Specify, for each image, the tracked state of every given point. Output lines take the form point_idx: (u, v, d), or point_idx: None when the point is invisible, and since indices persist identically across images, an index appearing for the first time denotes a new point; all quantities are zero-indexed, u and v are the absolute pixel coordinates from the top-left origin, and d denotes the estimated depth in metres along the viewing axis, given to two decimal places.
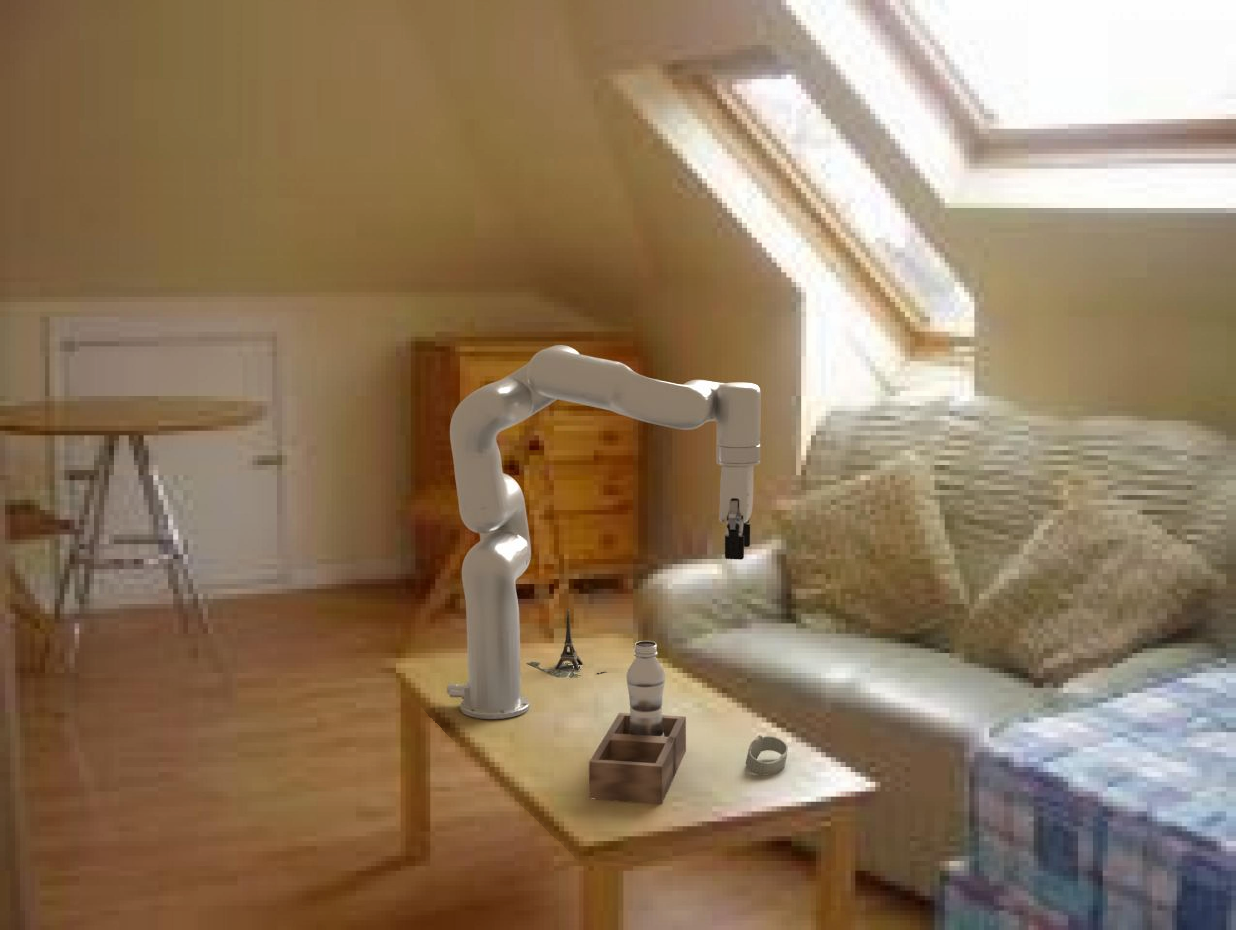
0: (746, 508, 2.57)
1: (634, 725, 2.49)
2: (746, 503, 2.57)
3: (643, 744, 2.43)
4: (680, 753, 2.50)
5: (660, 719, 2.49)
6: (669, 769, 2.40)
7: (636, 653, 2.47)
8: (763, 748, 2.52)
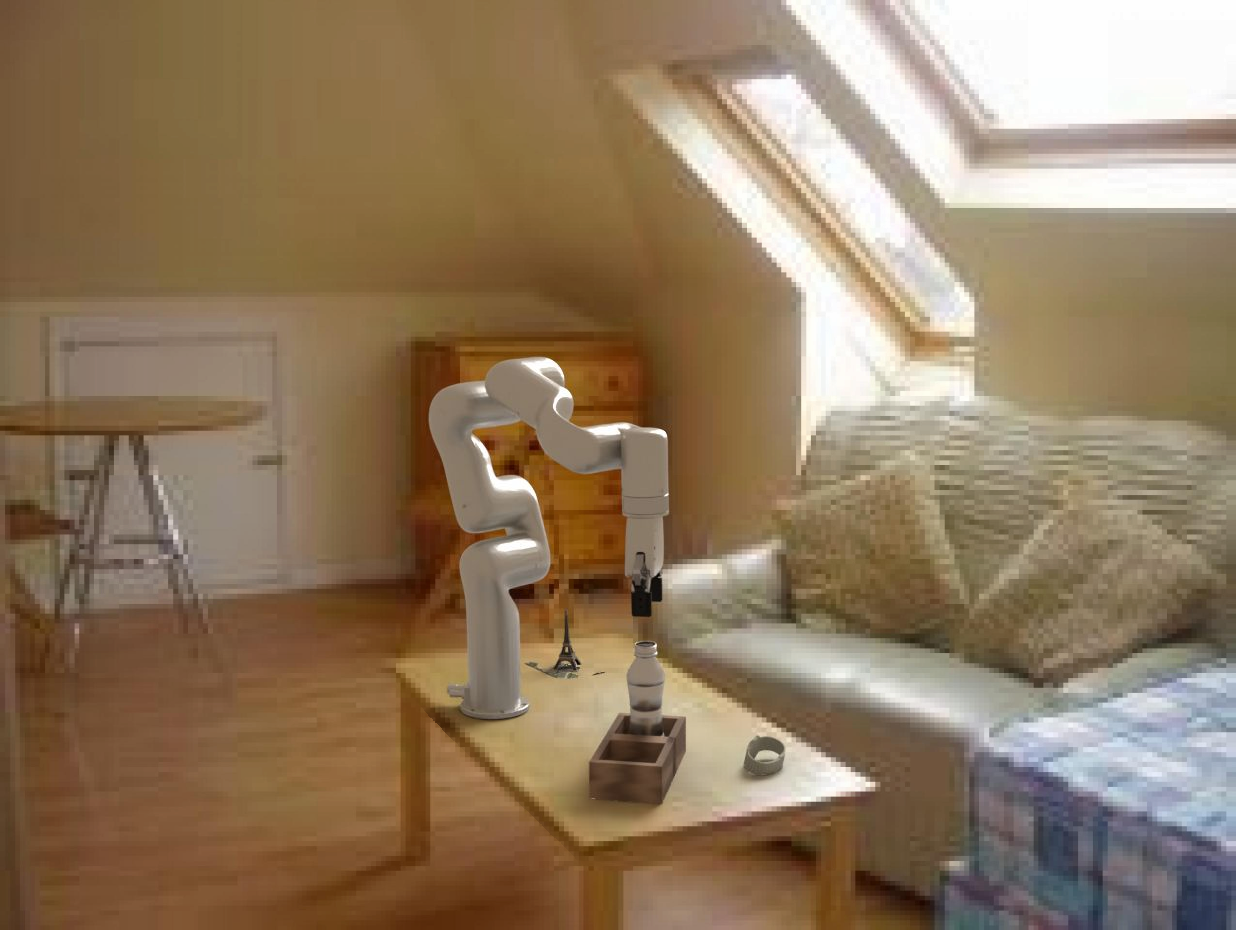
0: (653, 562, 2.41)
1: (634, 725, 2.49)
2: (653, 557, 2.41)
3: (643, 744, 2.43)
4: (680, 753, 2.50)
5: (660, 719, 2.49)
6: (669, 769, 2.40)
7: (636, 653, 2.47)
8: (760, 748, 2.52)
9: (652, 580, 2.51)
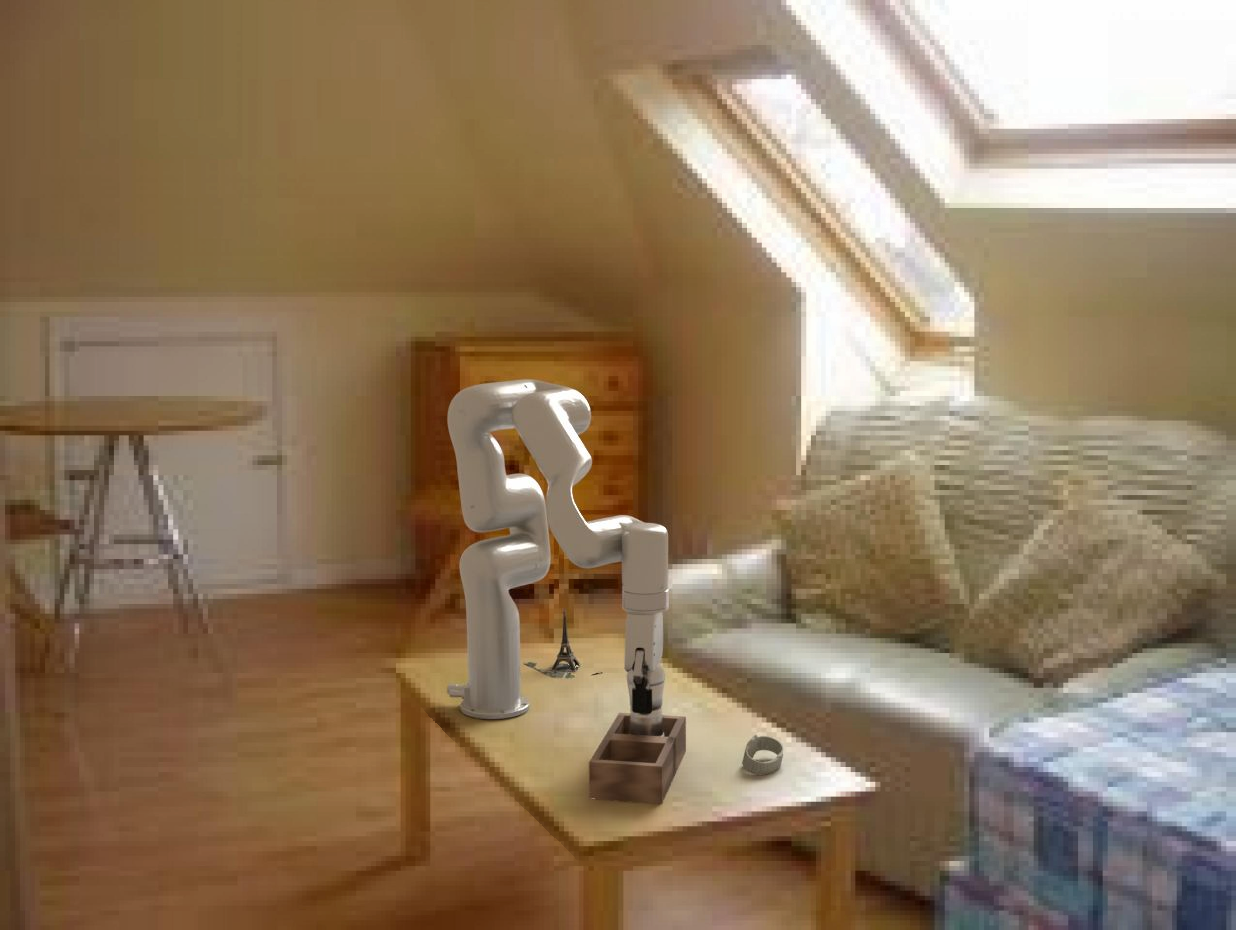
0: (652, 658, 2.44)
1: (634, 725, 2.49)
2: (652, 653, 2.43)
3: (643, 744, 2.43)
4: (680, 753, 2.50)
5: (660, 719, 2.49)
6: (669, 769, 2.40)
7: None
8: (758, 748, 2.52)
9: None
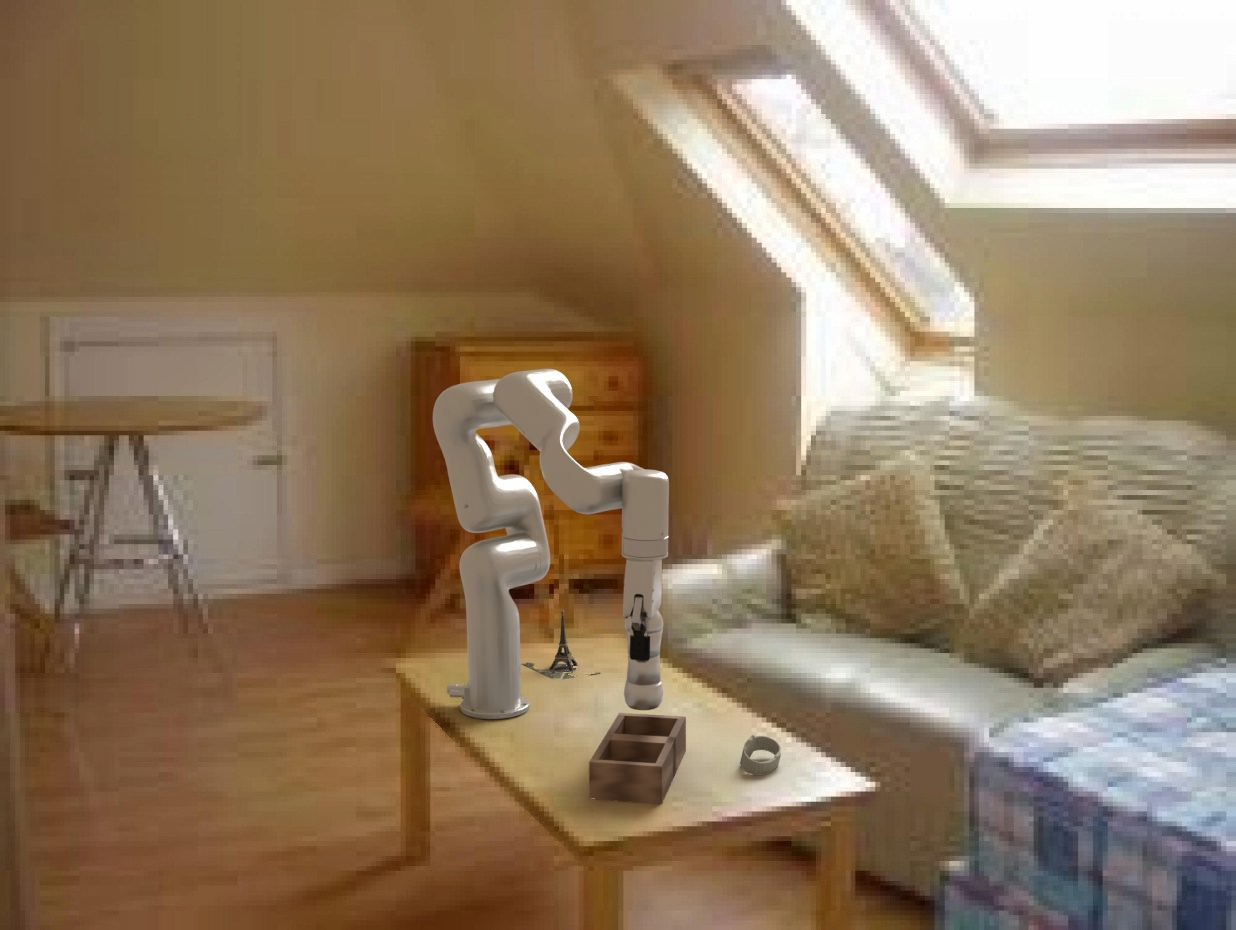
0: (651, 604, 2.43)
1: (632, 672, 2.48)
2: (651, 599, 2.43)
3: (643, 744, 2.43)
4: (680, 753, 2.50)
5: (658, 666, 2.49)
6: (669, 769, 2.40)
7: None
8: (755, 748, 2.52)
9: None
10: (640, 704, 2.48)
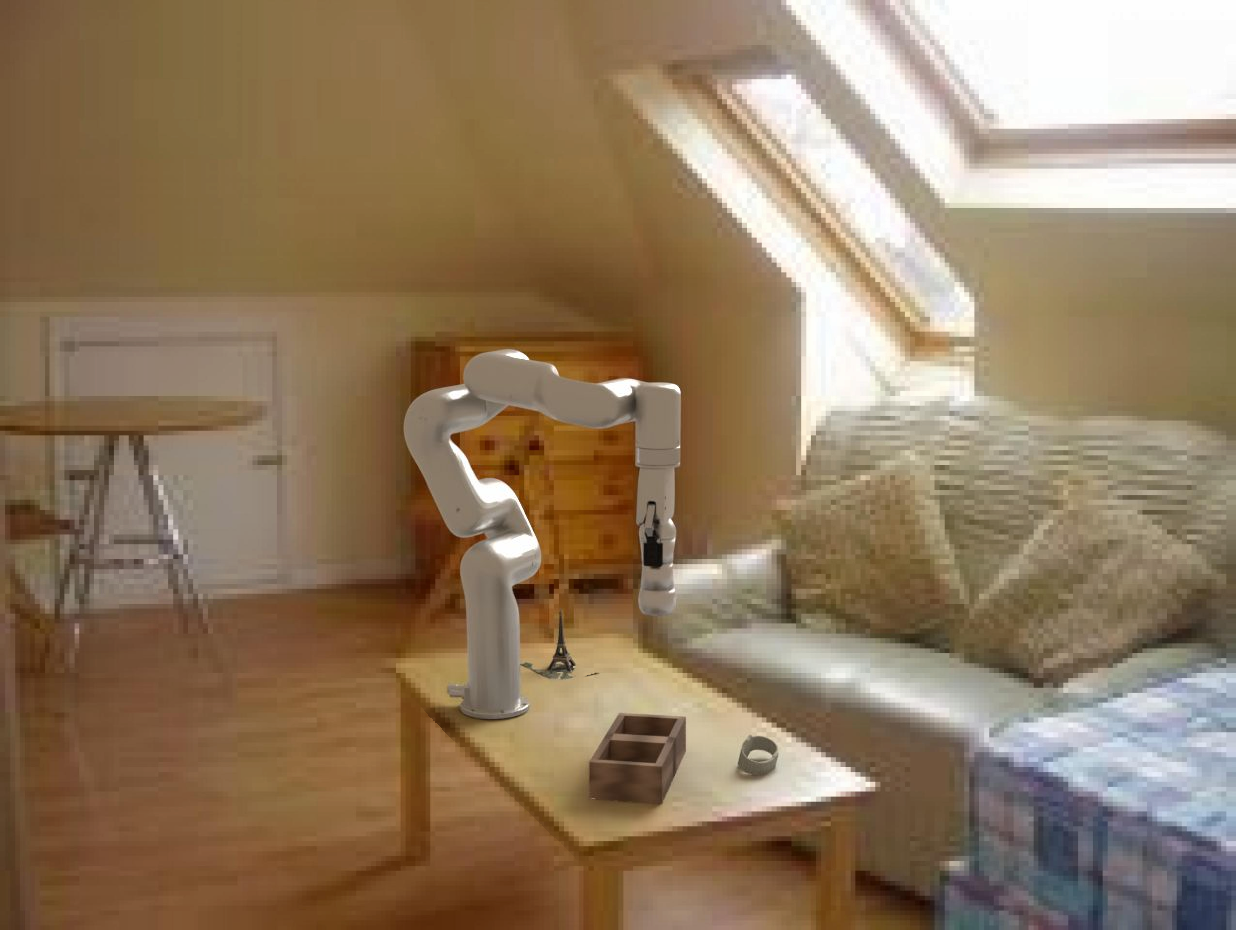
0: (663, 511, 2.51)
1: (645, 579, 2.57)
2: (663, 506, 2.51)
3: (643, 744, 2.43)
4: (680, 753, 2.50)
5: (671, 574, 2.57)
6: (669, 769, 2.40)
7: None
8: (752, 748, 2.52)
9: None
10: (653, 610, 2.56)
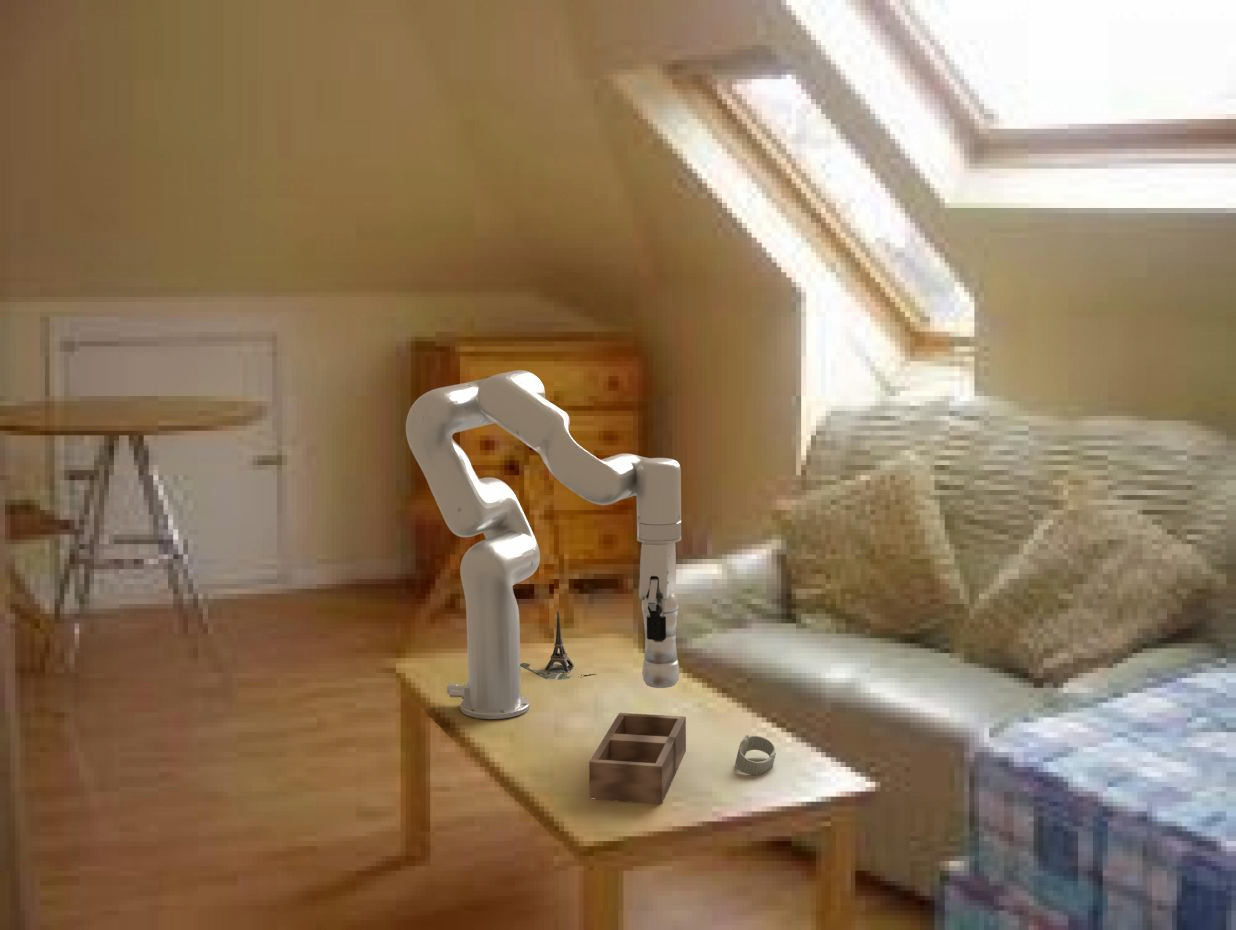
0: (666, 586, 2.55)
1: (649, 651, 2.60)
2: (666, 581, 2.55)
3: (643, 744, 2.43)
4: (680, 753, 2.50)
5: (674, 646, 2.60)
6: (669, 769, 2.40)
7: None
8: (749, 748, 2.52)
9: None
10: (657, 682, 2.59)
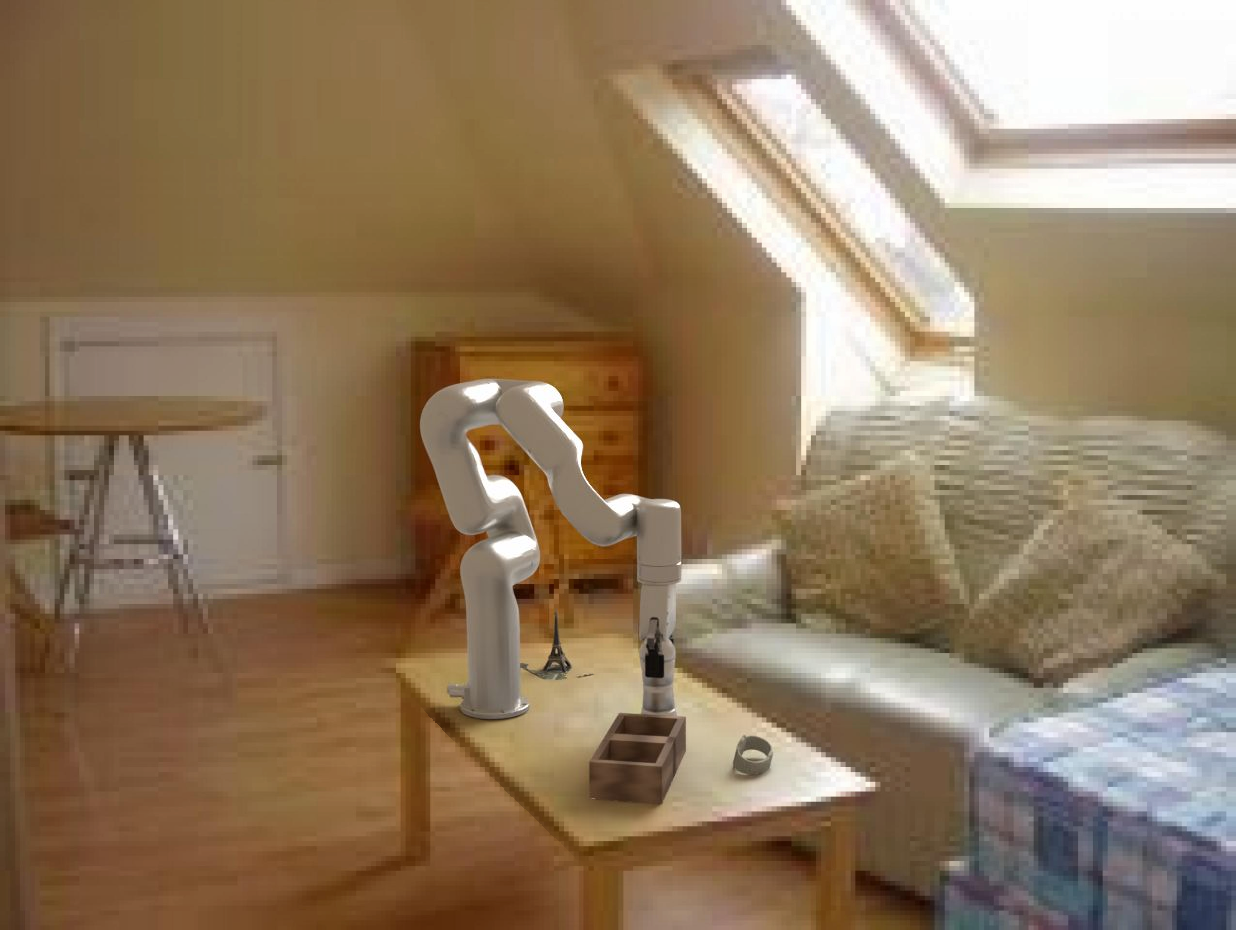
0: (666, 627, 2.56)
1: (647, 700, 2.61)
2: (666, 622, 2.56)
3: (643, 744, 2.43)
4: (680, 753, 2.50)
5: (672, 694, 2.62)
6: (669, 769, 2.40)
7: None
8: (745, 748, 2.52)
9: None
10: None
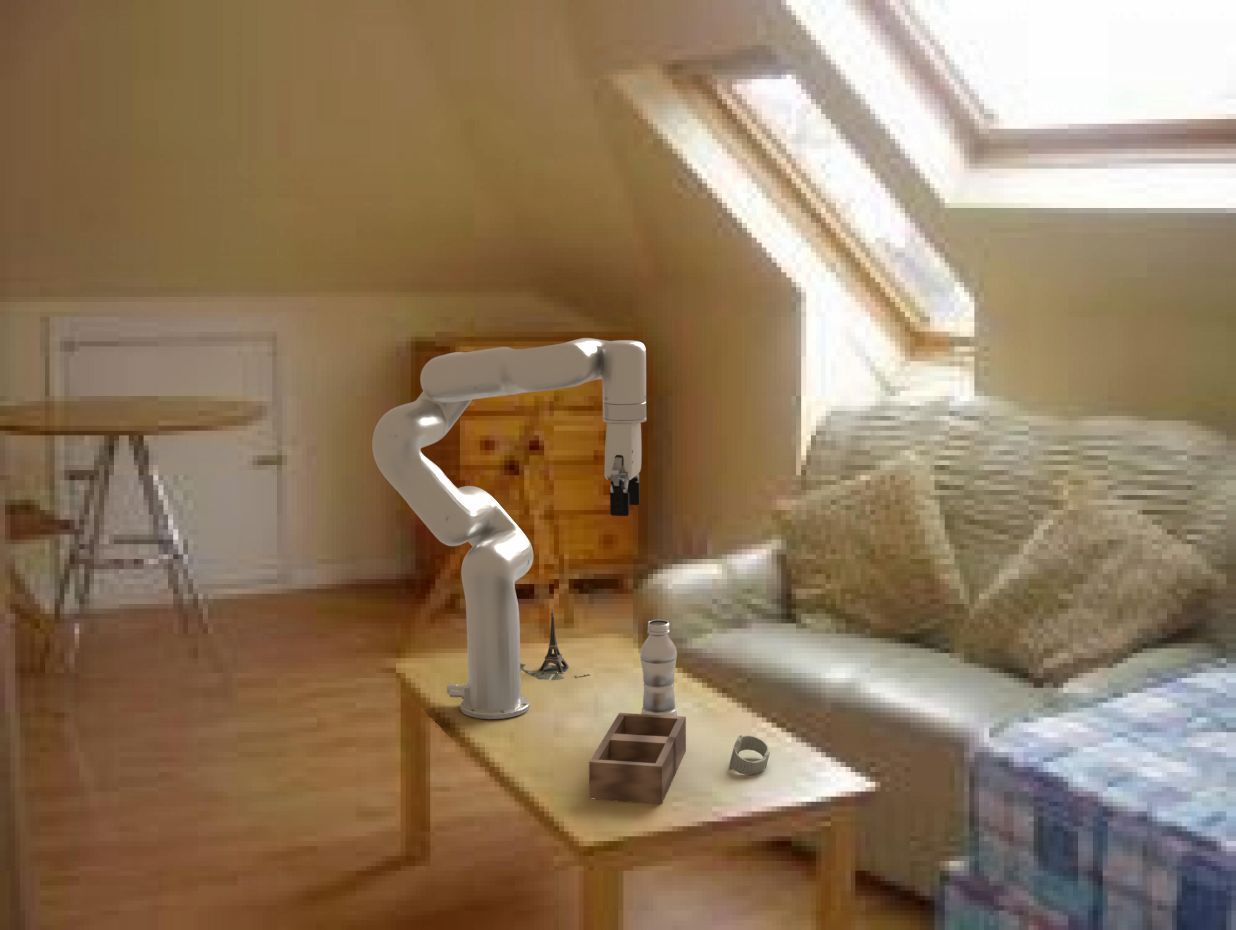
0: (631, 465, 2.59)
1: (648, 700, 2.61)
2: (630, 460, 2.59)
3: (643, 744, 2.43)
4: (680, 753, 2.50)
5: (672, 694, 2.62)
6: (669, 769, 2.40)
7: (649, 631, 2.60)
8: (741, 748, 2.52)
9: (630, 484, 2.69)
10: None
